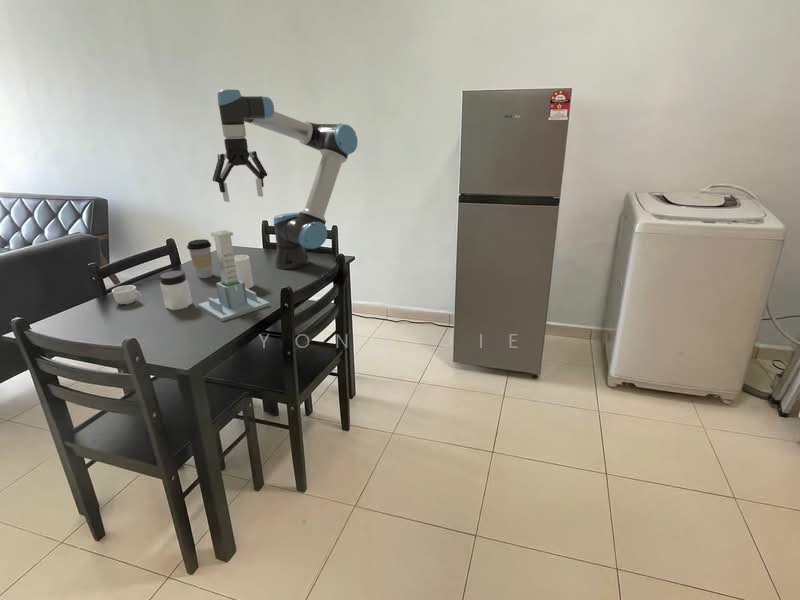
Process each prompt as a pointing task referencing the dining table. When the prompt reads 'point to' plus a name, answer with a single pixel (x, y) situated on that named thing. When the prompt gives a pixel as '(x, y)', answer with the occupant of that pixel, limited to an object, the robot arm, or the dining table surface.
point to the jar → (175, 290)
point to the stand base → (232, 302)
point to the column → (225, 257)
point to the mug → (244, 270)
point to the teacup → (125, 294)
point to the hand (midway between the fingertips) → (244, 198)
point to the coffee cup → (201, 257)
